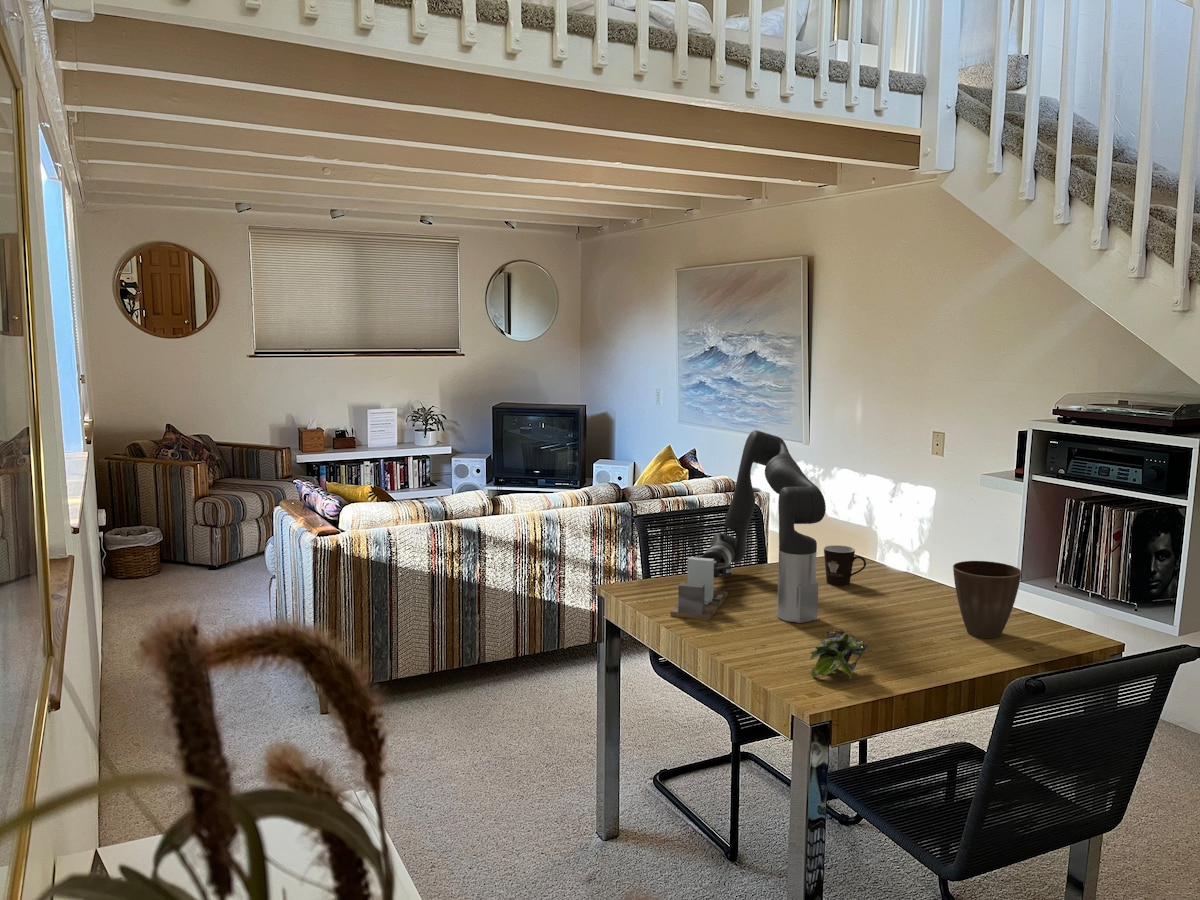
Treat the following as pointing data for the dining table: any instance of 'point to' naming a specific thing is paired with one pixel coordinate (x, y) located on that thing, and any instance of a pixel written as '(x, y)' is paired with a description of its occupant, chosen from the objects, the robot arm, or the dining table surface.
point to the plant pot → (986, 595)
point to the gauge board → (706, 608)
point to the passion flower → (837, 653)
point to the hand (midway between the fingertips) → (701, 576)
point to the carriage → (702, 575)
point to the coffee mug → (840, 564)
